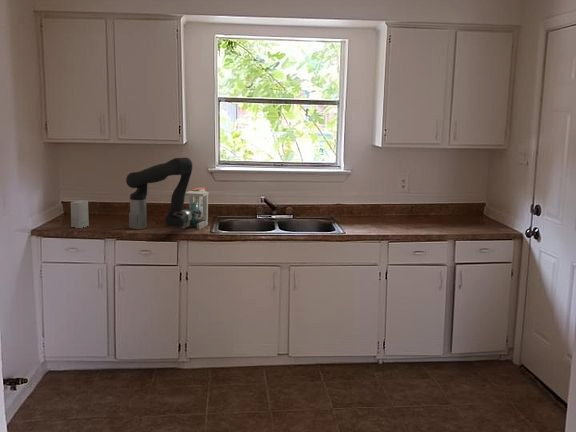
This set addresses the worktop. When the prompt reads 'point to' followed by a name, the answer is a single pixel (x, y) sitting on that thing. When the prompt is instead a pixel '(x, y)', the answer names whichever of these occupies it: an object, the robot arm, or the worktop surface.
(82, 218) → the skincare box
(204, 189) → the cracker box
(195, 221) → the canister
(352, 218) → the worktop surface
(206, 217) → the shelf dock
